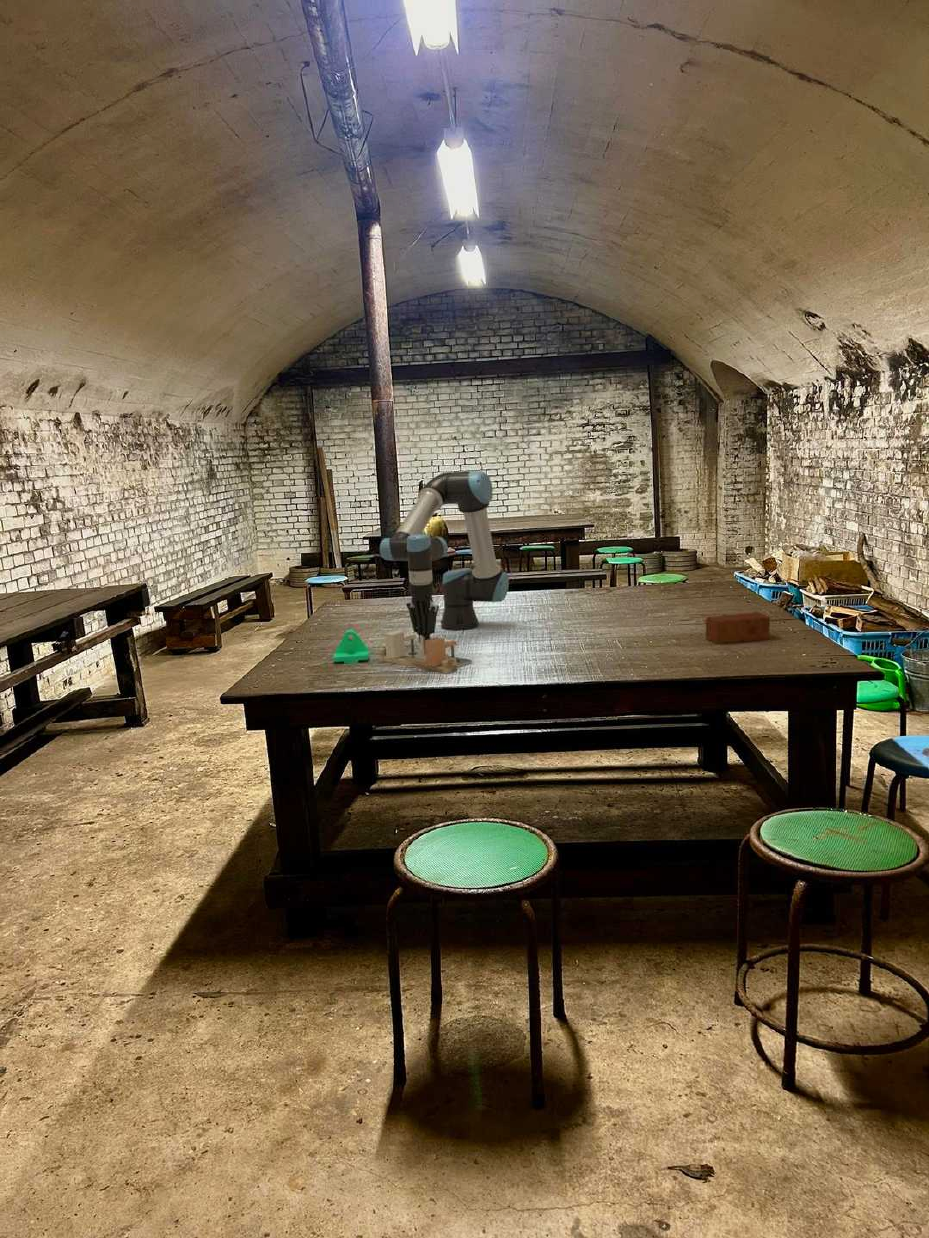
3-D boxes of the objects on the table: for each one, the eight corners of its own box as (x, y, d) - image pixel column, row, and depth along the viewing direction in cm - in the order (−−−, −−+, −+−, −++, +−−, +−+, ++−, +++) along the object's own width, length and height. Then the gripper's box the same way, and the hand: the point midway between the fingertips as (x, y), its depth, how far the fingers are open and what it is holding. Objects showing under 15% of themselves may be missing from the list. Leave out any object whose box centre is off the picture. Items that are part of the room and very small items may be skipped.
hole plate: (413, 652, 274) (413, 649, 274) (472, 663, 256) (471, 659, 255) (396, 657, 268) (396, 654, 268) (455, 668, 250) (455, 665, 250)
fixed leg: (410, 650, 270) (409, 627, 269) (418, 651, 268) (417, 628, 266) (386, 657, 262) (384, 633, 260) (394, 659, 259) (392, 634, 258)
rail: (390, 657, 268) (389, 646, 268) (456, 670, 247) (456, 658, 247) (379, 660, 265) (378, 649, 264) (446, 674, 244) (445, 662, 243)
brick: (770, 616, 264) (770, 640, 265) (757, 611, 272) (757, 634, 274) (717, 621, 261) (716, 645, 263) (705, 616, 269) (705, 639, 271)
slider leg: (450, 657, 258) (449, 633, 256) (459, 659, 255) (458, 634, 253) (426, 665, 249) (425, 640, 248) (435, 667, 247) (434, 641, 245)
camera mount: (333, 665, 263) (331, 635, 261) (335, 659, 271) (333, 630, 269) (368, 662, 264) (366, 633, 262) (369, 657, 271) (367, 628, 269)
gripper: (398, 583, 249) (403, 654, 254) (427, 586, 240) (431, 659, 245) (415, 580, 254) (419, 649, 259) (443, 582, 246) (447, 654, 251)
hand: (425, 654), depth 252 cm, fingers closed
